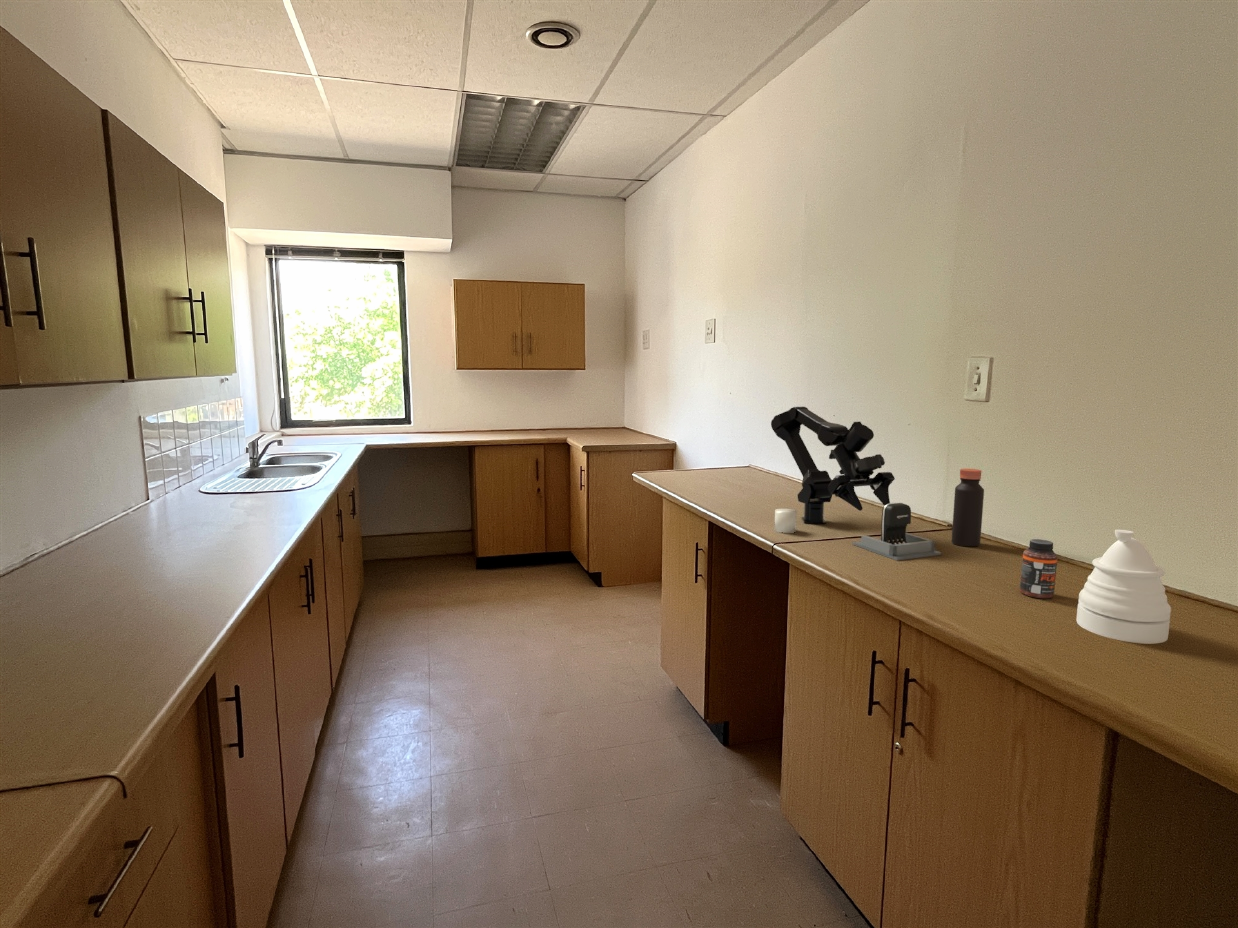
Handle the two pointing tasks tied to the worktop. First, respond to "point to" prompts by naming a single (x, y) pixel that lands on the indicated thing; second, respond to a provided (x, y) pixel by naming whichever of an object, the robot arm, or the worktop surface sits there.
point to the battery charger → (895, 522)
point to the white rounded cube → (785, 520)
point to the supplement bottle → (1039, 569)
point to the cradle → (900, 547)
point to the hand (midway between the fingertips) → (875, 508)
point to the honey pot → (1125, 595)
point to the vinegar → (968, 509)
